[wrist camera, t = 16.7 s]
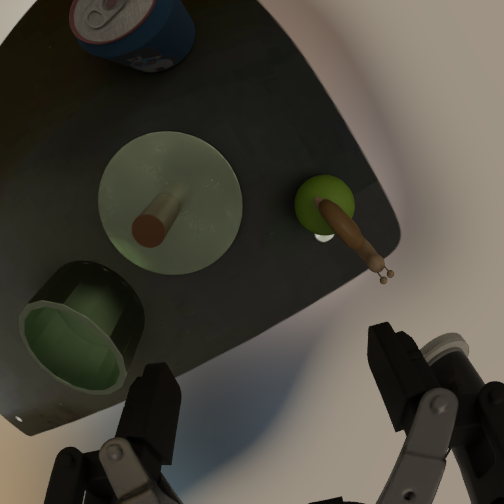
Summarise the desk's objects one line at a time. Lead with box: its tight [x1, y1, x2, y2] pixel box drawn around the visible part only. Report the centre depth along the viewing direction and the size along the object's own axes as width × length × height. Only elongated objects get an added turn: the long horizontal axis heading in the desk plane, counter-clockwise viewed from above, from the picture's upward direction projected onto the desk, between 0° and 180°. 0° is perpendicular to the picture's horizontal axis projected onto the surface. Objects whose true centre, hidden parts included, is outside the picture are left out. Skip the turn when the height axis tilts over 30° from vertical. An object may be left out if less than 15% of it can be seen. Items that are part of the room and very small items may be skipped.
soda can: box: [69, 0, 195, 73], centre depth 16 cm, size 7×7×12 cm
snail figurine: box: [294, 175, 394, 284], centre depth 24 cm, size 5×6×12 cm
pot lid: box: [98, 131, 243, 275], centre depth 26 cm, size 15×15×7 cm
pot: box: [19, 261, 145, 395], centre depth 30 cm, size 14×14×8 cm
